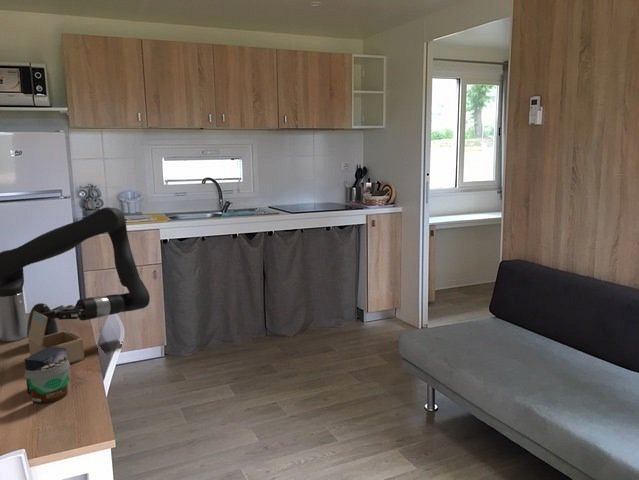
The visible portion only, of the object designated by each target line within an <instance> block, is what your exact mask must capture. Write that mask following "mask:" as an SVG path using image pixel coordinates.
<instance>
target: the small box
mask: <svg viewBox="0 0 639 480" xmlns="http://www.w3.org/2000/svg"><path fill="white" fill-rule="evenodd" d="M64 357H66V358H67V355H66V348H60V347H47V348H45V349H43V350H41V351H39V352H37V353H35V354H33V355H31V356H30V355H29V356H27V357H24V360H23V361H24V369H25V370H28V371H34V370H36V369H38V368H40V367H42V366H44V365H47V364H51V363H55V362H58V361H61V360H63V359H64ZM69 376H70V375H69V369H67V377H68V381H69V380H70V377H69ZM25 379H26V387H27V388H26V389H27V393H28V394H31V393H30V388H29V384H28V380H27V378H25Z"/></svg>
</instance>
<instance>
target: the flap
mask: <svg viewBox="0 0 639 480" xmlns="http://www.w3.org/2000/svg"><path fill="white" fill-rule="evenodd" d="M47 319H48V317H46V316H44V315H42V314H40V313H38V312H36V311H33V316H32V321H31V326H30V331H29V336H28V337H27V339H28V340H30V341H32V342H34V343H35V344H37V345H39V346H40V347H42V344H43V339H44V334H45V329H46V324H47Z"/></svg>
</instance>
